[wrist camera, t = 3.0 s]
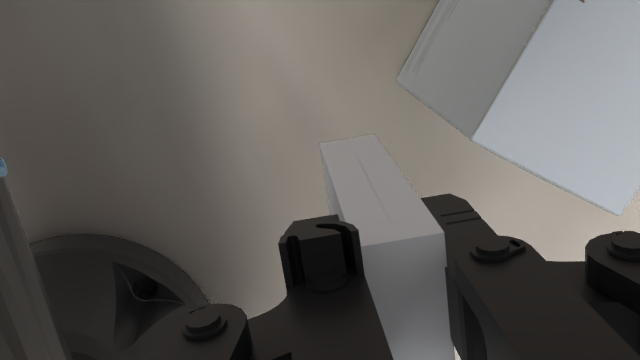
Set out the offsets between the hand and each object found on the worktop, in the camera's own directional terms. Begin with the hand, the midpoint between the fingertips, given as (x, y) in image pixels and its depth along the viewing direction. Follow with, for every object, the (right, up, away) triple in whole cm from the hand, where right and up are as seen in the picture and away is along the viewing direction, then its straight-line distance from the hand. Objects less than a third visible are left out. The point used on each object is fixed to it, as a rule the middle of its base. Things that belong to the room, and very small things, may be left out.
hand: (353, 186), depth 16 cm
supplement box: (+8, +7, +17) cm, 20 cm away
